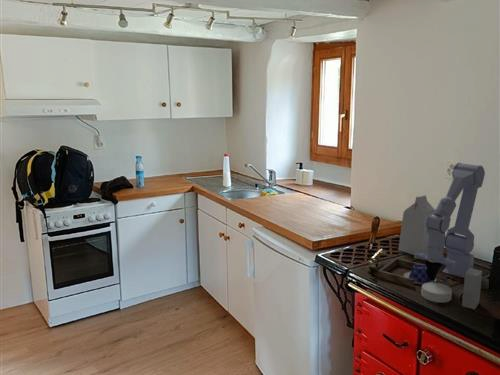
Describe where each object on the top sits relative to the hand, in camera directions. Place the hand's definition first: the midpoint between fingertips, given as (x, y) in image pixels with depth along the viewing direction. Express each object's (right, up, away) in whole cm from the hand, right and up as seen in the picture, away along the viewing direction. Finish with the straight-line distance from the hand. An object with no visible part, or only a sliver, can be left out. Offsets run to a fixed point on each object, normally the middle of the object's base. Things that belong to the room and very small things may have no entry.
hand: (432, 280), depth 165 cm
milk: (+7, +6, +34) cm, 35 cm away
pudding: (-4, -1, +3) cm, 5 cm away
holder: (-9, +1, +8) cm, 12 cm away
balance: (-17, +2, +16) cm, 23 cm away
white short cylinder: (-3, -4, -11) cm, 12 cm away
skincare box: (+6, -5, -17) cm, 19 cm away
